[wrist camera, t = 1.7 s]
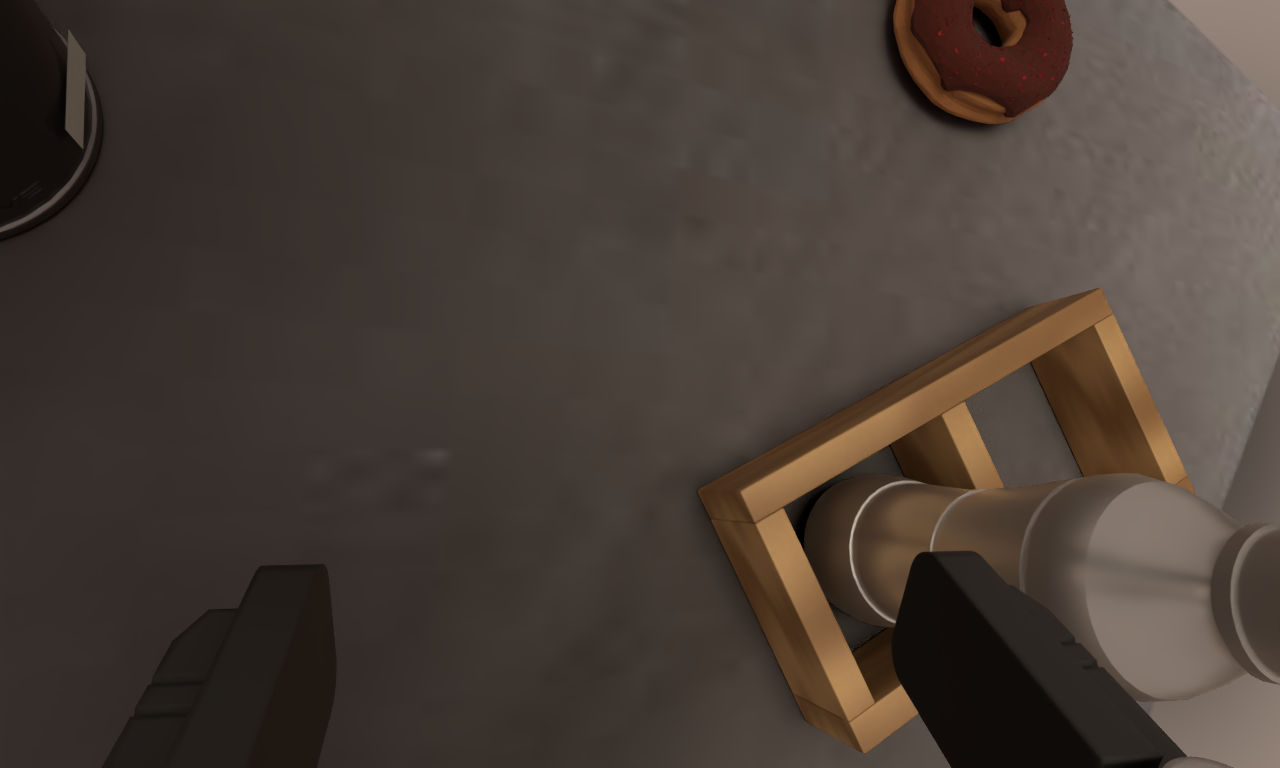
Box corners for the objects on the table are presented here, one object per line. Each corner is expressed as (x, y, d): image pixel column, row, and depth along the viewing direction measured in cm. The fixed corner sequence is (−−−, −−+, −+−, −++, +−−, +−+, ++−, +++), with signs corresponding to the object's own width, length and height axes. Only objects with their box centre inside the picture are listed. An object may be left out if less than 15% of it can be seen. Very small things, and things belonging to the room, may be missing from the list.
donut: (970, -67, 43) (1026, -119, 39) (1061, 84, 44) (1124, 46, 40) (847, 4, 40) (894, -46, 36) (947, 165, 41) (1004, 132, 37)
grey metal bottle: (836, 444, 36) (1315, 403, 18) (932, 536, 38) (1482, 589, 19) (758, 554, 35) (1203, 638, 16) (862, 647, 36) (1396, 831, 17)
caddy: (696, 490, 34) (739, 491, 30) (1028, 307, 41) (1101, 286, 37) (805, 721, 34) (864, 754, 30) (1117, 500, 41) (1200, 501, 37)
